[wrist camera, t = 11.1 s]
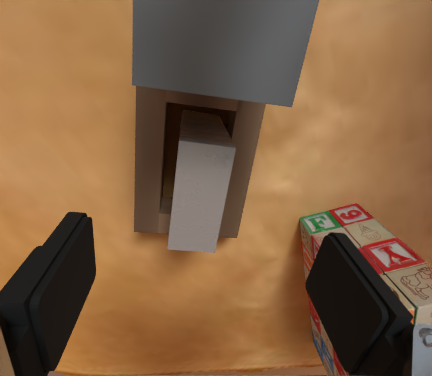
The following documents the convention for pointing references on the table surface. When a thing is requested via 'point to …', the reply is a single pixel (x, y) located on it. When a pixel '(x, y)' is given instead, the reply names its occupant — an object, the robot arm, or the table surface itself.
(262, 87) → the post socket
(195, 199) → the tall grey box
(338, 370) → the stack of blocks
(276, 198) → the table surface
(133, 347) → the table surface
